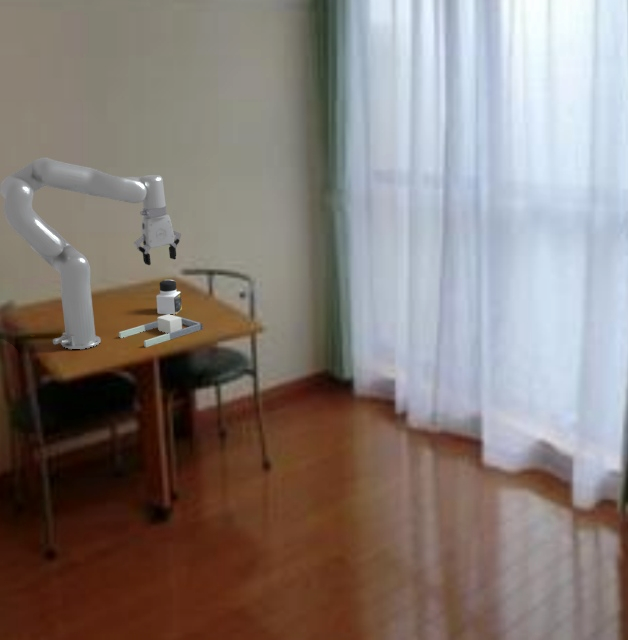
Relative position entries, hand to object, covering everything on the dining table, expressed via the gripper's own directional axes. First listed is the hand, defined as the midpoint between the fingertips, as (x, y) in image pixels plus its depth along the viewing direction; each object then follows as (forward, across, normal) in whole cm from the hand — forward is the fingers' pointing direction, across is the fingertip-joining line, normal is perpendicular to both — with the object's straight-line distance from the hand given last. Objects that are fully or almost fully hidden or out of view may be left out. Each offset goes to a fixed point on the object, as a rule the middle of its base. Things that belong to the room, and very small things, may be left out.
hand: (160, 261), depth 289 cm
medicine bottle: (+25, +10, +18) cm, 32 cm away
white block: (+25, 0, -2) cm, 25 cm away
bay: (+24, -3, -3) cm, 25 cm away
